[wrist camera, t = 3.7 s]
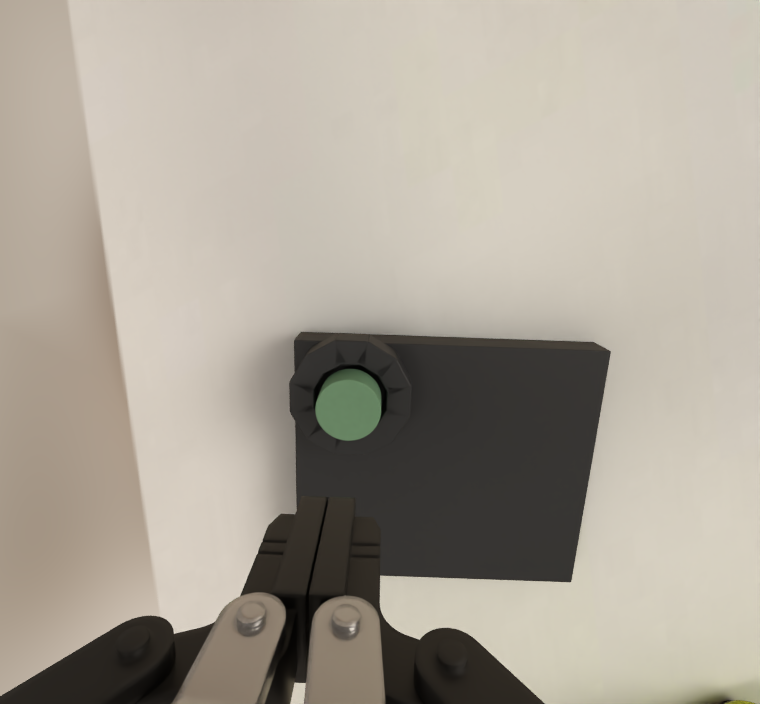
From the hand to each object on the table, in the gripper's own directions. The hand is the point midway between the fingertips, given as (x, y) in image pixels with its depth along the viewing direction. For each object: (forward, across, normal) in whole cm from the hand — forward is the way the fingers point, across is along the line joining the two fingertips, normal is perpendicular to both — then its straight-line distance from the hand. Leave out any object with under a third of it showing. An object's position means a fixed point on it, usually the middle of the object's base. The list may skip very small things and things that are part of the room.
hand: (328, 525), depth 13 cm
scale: (+13, -5, +5) cm, 15 cm away
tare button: (+10, 0, 0) cm, 10 cm away
